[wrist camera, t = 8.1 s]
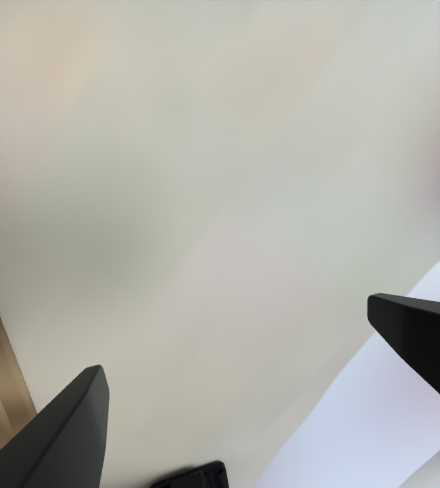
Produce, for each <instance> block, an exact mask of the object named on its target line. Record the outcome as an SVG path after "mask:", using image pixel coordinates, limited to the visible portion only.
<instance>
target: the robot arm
mask: <svg viewBox="0 0 440 488" xmlns="http://www.w3.org/2000/svg"><path fill="white" fill-rule="evenodd" d="M367 317H368V320H369V322H370V324H371V325H372V326H373V327H374V328H375V330H376V331H377V332H378V333H379V334H380V335H381V336H382V337H383V338H384V339H385V341H386V342H387V343H388V344H389V345H390V346H391V347H392V348H393V349H394V351H395V352H396V353H397V354H398V355H399V356H400V357H401V358H402V359H403V360H404V361H405V362H406V363H407V364H408V365H409V366H410V367H411V368H412V369H414V370H415V371H416V372H417V373H418V374H419V375H420V376H421V377H422V378H423V379H424V380H425V381H426V382H428V384H430V385H431V386H432V387H433V388H434V389H435V390H436V391H437V392H438V393H439V394H440V302H435V301H429V300H423V299H416V298H409V297H403V296H397V295H390V294H384V293H377V294H374V295H370V296H369V297H368V300H367ZM108 409H109V387H108V384H107V380H106V377H105V373H104V370H103V367H102V366H101V365H95V366H91V367H87V368H85V369H84V370H83V371H82V372H81V373H80V374H79V375H78V376H77V377H76V378H75V379H74V380H73V381H72V382H71V383H70V384H69V385H68V386H66V387H65V388H64V389H63V390H62V391H61V392H60V393H59V394H58V395H57V396H56V397H55V398H54V399H53V400H52V401H51V402H50V403H49V404H48V405H47V406H46V407H45V408H43V409H42V410H41V411H40V412H39V413H38V414H37V415H36V416H35V417H34V418H33V419H32V420H31V421H30V422H29V423H28V424H27V425H26V426H25V427H24V428H23V429H21V430H20V431H19V432H18V433H17V434H16V435H15V436H14V437H13V438H12V439H11V440H10V441H9V442H8V443H7V444H6V445H5V446H4V447H3V448H2V449H1V450H0V488H99V485H100V479H101V473H102V468H103V462H104V456H105V449H106V437H107V423H108ZM150 488H229V485H228V479H227V474H226V468H225V465H224V463H223V462H218V463H215V464H212V465H209V466H206V467H204V468H201V469H198V470H195V471H192V472H189V473H186V474H183V475H180V476H177V477H174V478H171V479H169V480H166V481H163V482H160V483H157V484H154V485H152V486H151V487H150Z"/></svg>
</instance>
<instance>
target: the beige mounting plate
mask: <svg viewBox="0 0 440 488" xmlns="http://www.w3.org/2000/svg"><path fill="white" fill-rule="evenodd" d="M36 415H37V412H36V409H35V407H34V404H33V402H32V399H31V396H30V394H29V391H28V389H27V386H26V383H25V381H24V378H23V376H22V373H21V370H20V368H19V365H18V363H17V360H16V357H15V355H14V352H13V350H12V347H11V344H10V342H9V339H8V337H7V334H6V331H5V329H4V326H3V324H2V321H1V318H0V450H1V449H2V448H3V447H4V446H5V445H6V444H7V443H8V442H9V441H10V440H11V439H12V438H13V437H14V436H15V435H16V434H17V433H18V432H19V431H20V430H21V429H23V428H24V427H25V426H26V425H27V424H28V423H29V422H30V421H31V420H32V419H33V418H34V417H35V416H36Z"/></svg>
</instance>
